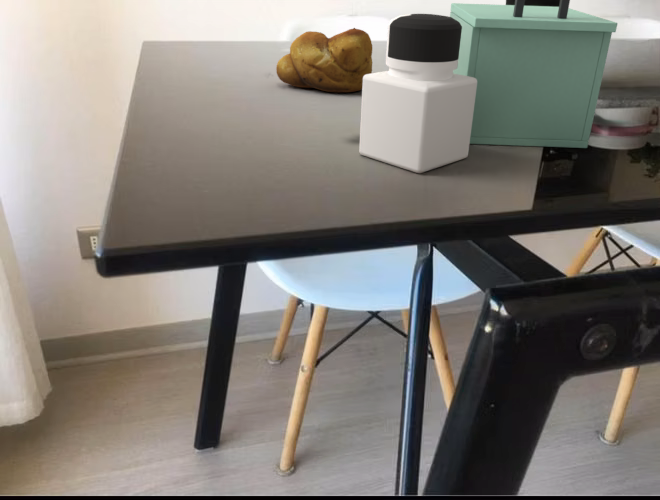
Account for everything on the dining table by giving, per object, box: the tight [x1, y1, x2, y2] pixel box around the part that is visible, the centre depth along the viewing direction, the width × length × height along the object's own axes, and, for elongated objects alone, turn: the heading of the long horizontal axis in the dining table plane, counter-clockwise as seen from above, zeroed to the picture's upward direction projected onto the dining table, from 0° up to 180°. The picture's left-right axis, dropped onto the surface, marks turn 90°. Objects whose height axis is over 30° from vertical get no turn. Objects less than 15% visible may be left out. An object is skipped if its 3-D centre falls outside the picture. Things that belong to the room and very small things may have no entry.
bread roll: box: [275, 27, 373, 93], centre depth 81 cm, size 13×10×8 cm
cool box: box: [449, 11, 613, 149], centre depth 65 cm, size 14×12×11 cm
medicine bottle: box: [358, 13, 477, 174], centre depth 54 cm, size 7×7×12 cm
